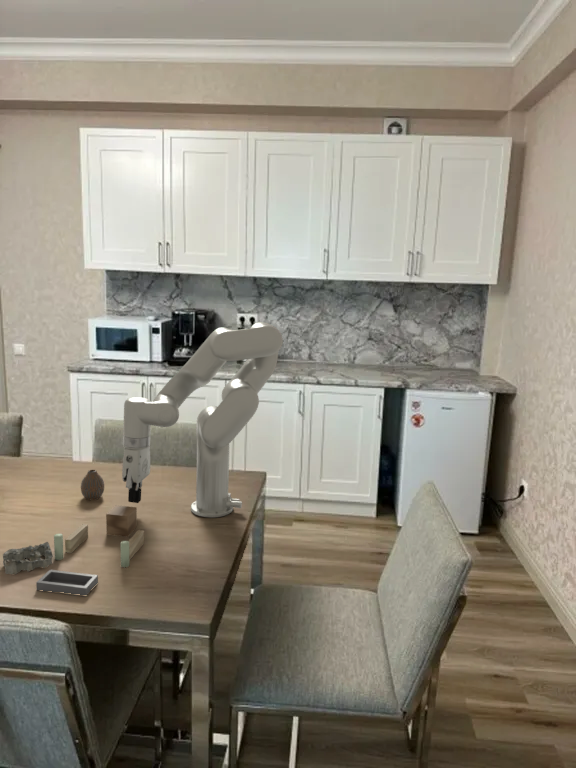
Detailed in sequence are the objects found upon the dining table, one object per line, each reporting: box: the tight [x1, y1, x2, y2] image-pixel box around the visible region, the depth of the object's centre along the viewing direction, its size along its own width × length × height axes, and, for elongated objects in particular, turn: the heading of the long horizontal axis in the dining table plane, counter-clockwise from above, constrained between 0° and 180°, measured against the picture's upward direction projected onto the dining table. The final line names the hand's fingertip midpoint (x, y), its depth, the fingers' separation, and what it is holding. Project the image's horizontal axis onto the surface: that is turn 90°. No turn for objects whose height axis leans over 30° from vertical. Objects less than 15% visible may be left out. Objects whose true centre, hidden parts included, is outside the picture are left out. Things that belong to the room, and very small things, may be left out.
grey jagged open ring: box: [2, 541, 54, 575], centre depth 137 cm, size 11×8×4 cm
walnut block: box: [105, 504, 138, 538], centre depth 157 cm, size 6×6×6 cm
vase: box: [80, 469, 105, 501], centre depth 177 cm, size 7×7×9 cm
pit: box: [35, 569, 99, 596], centre depth 129 cm, size 12×6×2 cm, turn 82°
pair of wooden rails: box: [64, 523, 145, 561], centre depth 147 cm, size 17×9×4 cm, turn 82°
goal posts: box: [53, 533, 130, 569], centre depth 139 cm, size 19×2×6 cm, turn 82°
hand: (134, 501), depth 167 cm, fingers closed
